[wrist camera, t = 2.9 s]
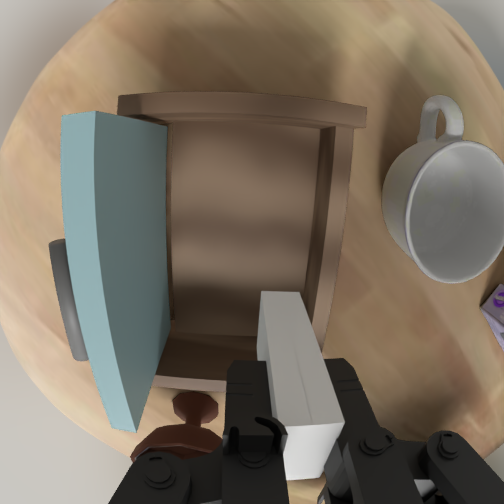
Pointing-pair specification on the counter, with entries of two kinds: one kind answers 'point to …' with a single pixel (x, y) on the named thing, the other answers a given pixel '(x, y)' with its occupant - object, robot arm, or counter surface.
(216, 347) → the drawer box
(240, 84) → the counter surface
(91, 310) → the pale blue slab
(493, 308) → the cake pan box
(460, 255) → the teacup
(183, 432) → the ice cream bowl
